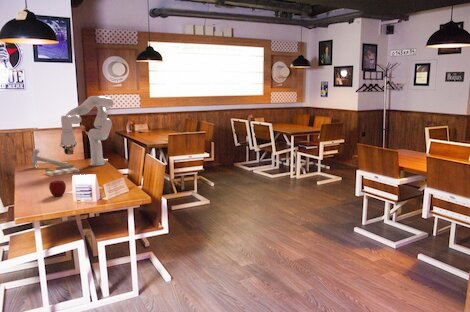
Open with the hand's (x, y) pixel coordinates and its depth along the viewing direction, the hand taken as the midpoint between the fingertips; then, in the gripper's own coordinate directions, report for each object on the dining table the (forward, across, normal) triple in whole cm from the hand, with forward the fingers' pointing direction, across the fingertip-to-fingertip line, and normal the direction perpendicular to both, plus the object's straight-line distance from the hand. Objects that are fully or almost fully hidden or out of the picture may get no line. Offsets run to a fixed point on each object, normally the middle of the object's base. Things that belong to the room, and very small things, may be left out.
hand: (69, 153), depth 313 cm
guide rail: (+13, +7, -4) cm, 15 cm away
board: (+15, +7, +1) cm, 16 cm away
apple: (+15, +37, +68) cm, 79 cm away
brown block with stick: (+1, 0, +3) cm, 3 cm away
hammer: (+15, +5, -29) cm, 33 cm away
